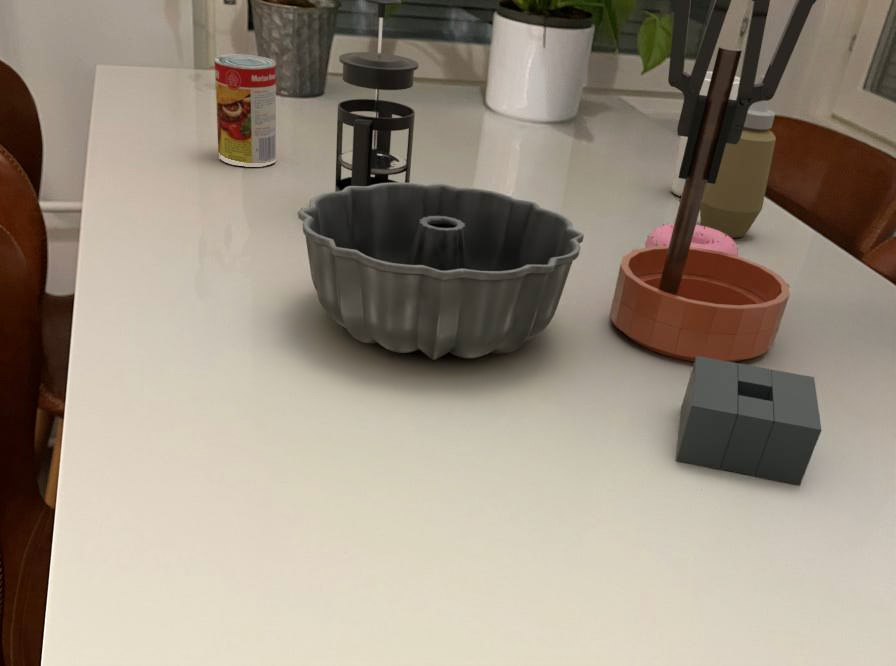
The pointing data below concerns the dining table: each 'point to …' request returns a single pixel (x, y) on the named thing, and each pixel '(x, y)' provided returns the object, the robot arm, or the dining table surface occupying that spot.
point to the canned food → (246, 107)
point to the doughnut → (695, 239)
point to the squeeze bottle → (741, 176)
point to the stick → (699, 167)
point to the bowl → (699, 305)
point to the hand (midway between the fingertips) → (697, 176)
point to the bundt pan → (437, 266)
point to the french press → (378, 75)
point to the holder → (749, 420)
